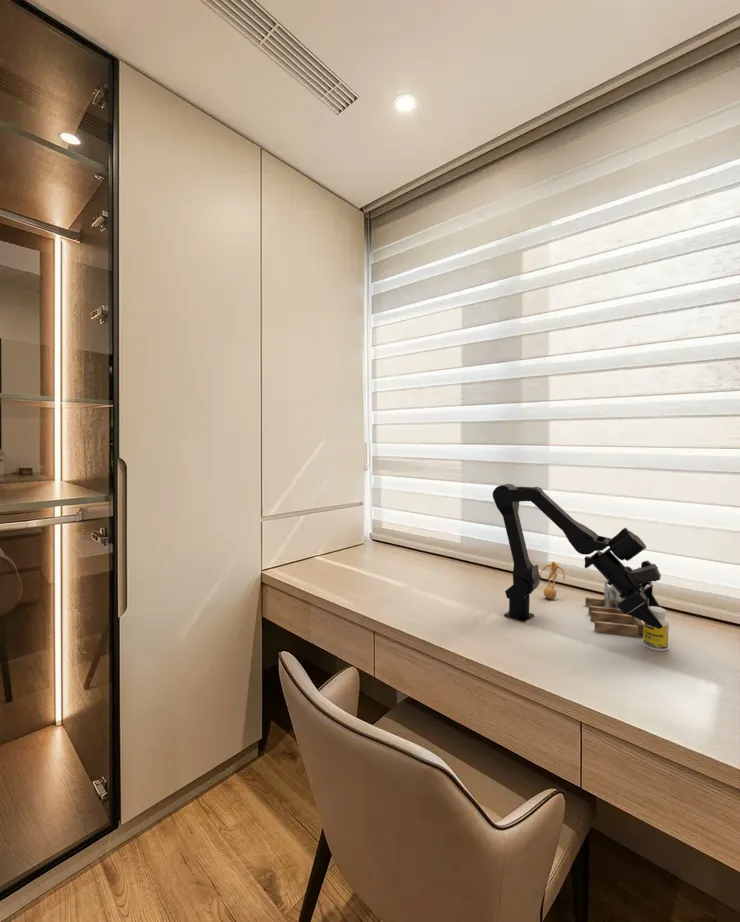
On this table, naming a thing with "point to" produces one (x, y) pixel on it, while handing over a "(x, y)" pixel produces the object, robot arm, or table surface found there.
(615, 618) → the wooden rack
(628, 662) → the table surface
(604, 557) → the robot arm
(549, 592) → the figurine
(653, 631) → the supplement bottle
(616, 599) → the grey can
